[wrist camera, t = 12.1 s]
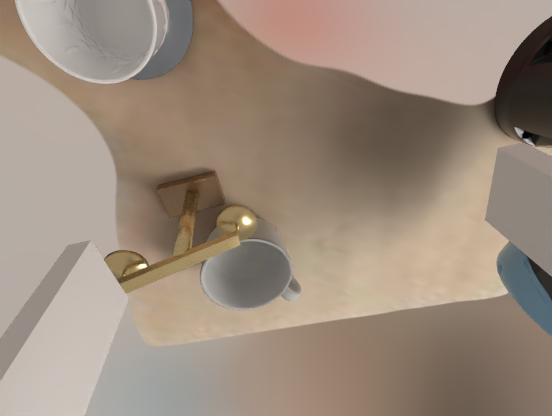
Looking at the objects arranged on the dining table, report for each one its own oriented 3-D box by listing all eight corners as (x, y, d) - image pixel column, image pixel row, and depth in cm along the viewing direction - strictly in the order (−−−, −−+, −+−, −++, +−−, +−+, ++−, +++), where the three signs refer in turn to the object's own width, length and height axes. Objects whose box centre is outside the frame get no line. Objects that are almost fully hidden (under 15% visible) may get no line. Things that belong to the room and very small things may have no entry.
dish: (166, -83, 26) (164, -86, 25) (209, 62, 32) (209, 64, 31) (34, -50, 26) (26, -52, 25) (102, 89, 32) (97, 91, 31)
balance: (246, 163, 38) (256, 237, 26) (254, 191, 40) (266, 272, 28) (127, 192, 38) (81, 280, 26) (141, 219, 40) (105, 311, 28)
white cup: (189, 49, 30) (175, 67, 22) (108, 70, 30) (63, 96, 22) (154, -57, 26) (120, -86, 17) (59, -32, 26) (-21, -49, 17)
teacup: (186, 238, 43) (179, 281, 36) (246, 188, 40) (250, 225, 33) (256, 288, 50) (261, 332, 43) (311, 248, 47) (326, 289, 40)
